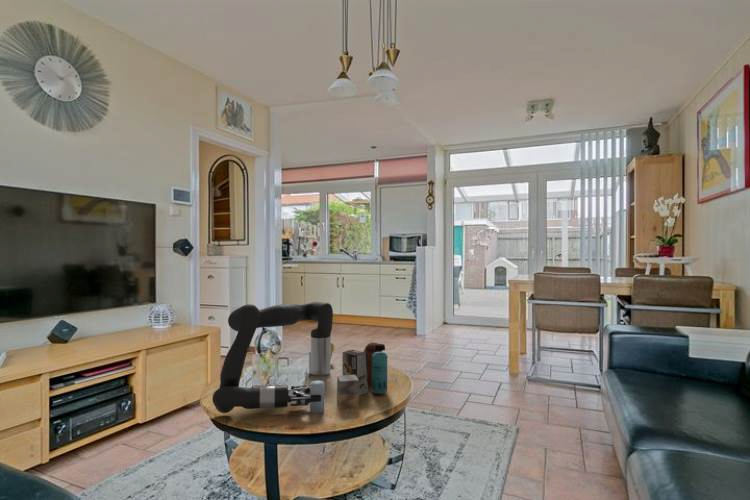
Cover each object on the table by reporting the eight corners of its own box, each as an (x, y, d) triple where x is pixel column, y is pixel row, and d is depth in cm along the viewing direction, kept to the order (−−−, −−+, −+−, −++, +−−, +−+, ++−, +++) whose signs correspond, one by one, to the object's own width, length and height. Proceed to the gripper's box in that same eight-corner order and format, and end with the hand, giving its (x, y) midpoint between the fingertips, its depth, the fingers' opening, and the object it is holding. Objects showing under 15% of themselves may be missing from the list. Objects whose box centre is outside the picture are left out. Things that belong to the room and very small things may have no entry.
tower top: (339, 395, 150) (339, 381, 150) (337, 389, 157) (337, 375, 157) (358, 393, 152) (358, 380, 152) (355, 387, 158) (355, 374, 158)
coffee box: (368, 392, 167) (368, 352, 168) (357, 396, 163) (357, 355, 163) (352, 387, 174) (352, 349, 174) (341, 391, 169) (341, 351, 169)
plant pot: (335, 361, 216) (335, 342, 216) (332, 366, 206) (332, 346, 206) (315, 360, 217) (316, 341, 217) (311, 365, 207) (311, 346, 207)
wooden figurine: (388, 386, 175) (388, 343, 175) (376, 389, 171) (376, 346, 171) (370, 379, 184) (370, 339, 184) (359, 382, 180) (359, 341, 180)
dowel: (307, 411, 147) (307, 383, 147) (316, 407, 151) (316, 379, 151) (317, 414, 144) (317, 385, 144) (327, 410, 148) (327, 382, 149)
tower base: (339, 408, 150) (339, 395, 150) (336, 402, 157) (337, 388, 157) (358, 407, 151) (358, 393, 152) (355, 400, 158) (355, 387, 158)
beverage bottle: (371, 391, 169) (371, 342, 169) (387, 391, 168) (388, 342, 169) (370, 397, 162) (371, 346, 162) (387, 397, 162) (388, 346, 162)
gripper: (272, 392, 138) (321, 389, 141) (274, 379, 152) (319, 377, 155) (272, 415, 138) (321, 411, 141) (274, 400, 152) (319, 397, 155)
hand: (320, 393), depth 148 cm, fingers open, 8 cm apart
